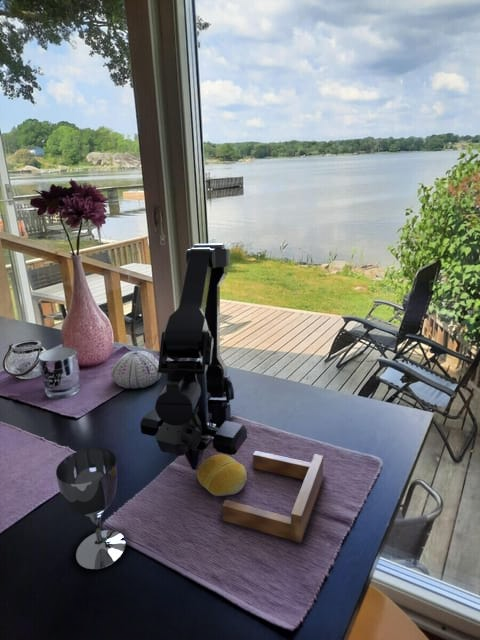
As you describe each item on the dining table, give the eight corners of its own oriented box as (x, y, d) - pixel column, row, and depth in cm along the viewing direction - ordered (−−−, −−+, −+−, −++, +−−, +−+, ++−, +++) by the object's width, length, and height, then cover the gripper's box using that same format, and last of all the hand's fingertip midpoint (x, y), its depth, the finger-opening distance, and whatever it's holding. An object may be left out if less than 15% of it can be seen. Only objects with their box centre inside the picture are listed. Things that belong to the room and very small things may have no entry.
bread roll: (221, 505, 73) (220, 486, 72) (190, 479, 80) (189, 460, 79) (257, 483, 78) (257, 464, 77) (226, 459, 85) (225, 442, 84)
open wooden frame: (222, 520, 70) (221, 495, 69) (255, 463, 84) (255, 441, 82) (301, 543, 66) (301, 516, 64) (322, 479, 79) (323, 455, 77)
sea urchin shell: (165, 368, 125) (163, 342, 122) (160, 391, 112) (157, 362, 110) (118, 370, 125) (115, 344, 122) (107, 394, 112) (103, 365, 109)
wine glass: (80, 530, 69) (65, 449, 64) (132, 526, 70) (120, 445, 65) (66, 574, 62) (47, 486, 57) (123, 569, 62) (110, 481, 57)
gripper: (116, 405, 72) (126, 484, 77) (219, 428, 65) (223, 512, 70) (154, 376, 82) (160, 448, 87) (247, 394, 75) (248, 470, 80)
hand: (195, 468), depth 81 cm, fingers closed
